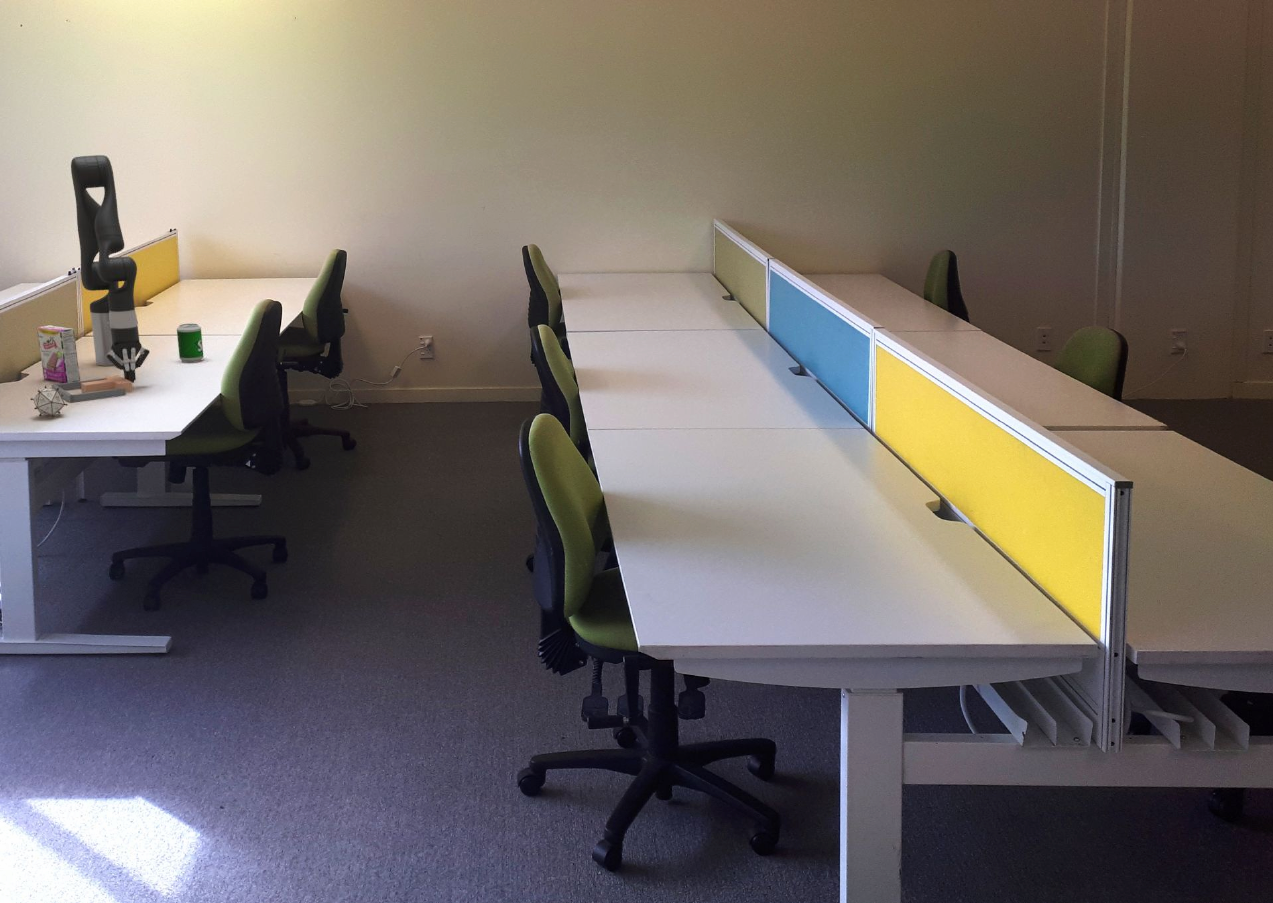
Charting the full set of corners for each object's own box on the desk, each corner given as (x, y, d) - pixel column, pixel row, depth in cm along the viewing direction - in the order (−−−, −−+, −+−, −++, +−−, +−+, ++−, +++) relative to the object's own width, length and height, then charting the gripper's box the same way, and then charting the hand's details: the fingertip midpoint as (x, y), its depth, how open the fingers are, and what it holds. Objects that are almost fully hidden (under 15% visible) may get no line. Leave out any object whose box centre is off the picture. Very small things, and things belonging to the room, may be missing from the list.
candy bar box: (42, 380, 374) (35, 327, 369) (57, 377, 378) (50, 324, 374) (67, 384, 369) (60, 330, 364) (81, 380, 373) (74, 328, 369)
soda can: (196, 363, 399) (192, 327, 395) (175, 362, 400) (171, 326, 397) (208, 359, 406) (205, 323, 403) (187, 358, 407) (184, 322, 404)
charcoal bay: (52, 391, 359) (51, 384, 359) (106, 384, 369) (105, 377, 368) (69, 402, 346) (69, 395, 345) (126, 395, 355) (125, 388, 355)
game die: (48, 428, 333) (40, 395, 336) (76, 417, 333) (68, 384, 335) (28, 419, 324) (20, 386, 327) (58, 408, 324) (50, 375, 327)
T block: (77, 390, 360) (76, 380, 360) (119, 384, 368) (118, 375, 367) (90, 397, 352) (89, 387, 351) (133, 391, 359) (131, 382, 358)
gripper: (142, 321, 366) (148, 377, 371) (96, 325, 358) (103, 383, 363) (151, 324, 361) (157, 381, 365) (104, 329, 353) (111, 387, 357)
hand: (130, 382), depth 364 cm, fingers closed
